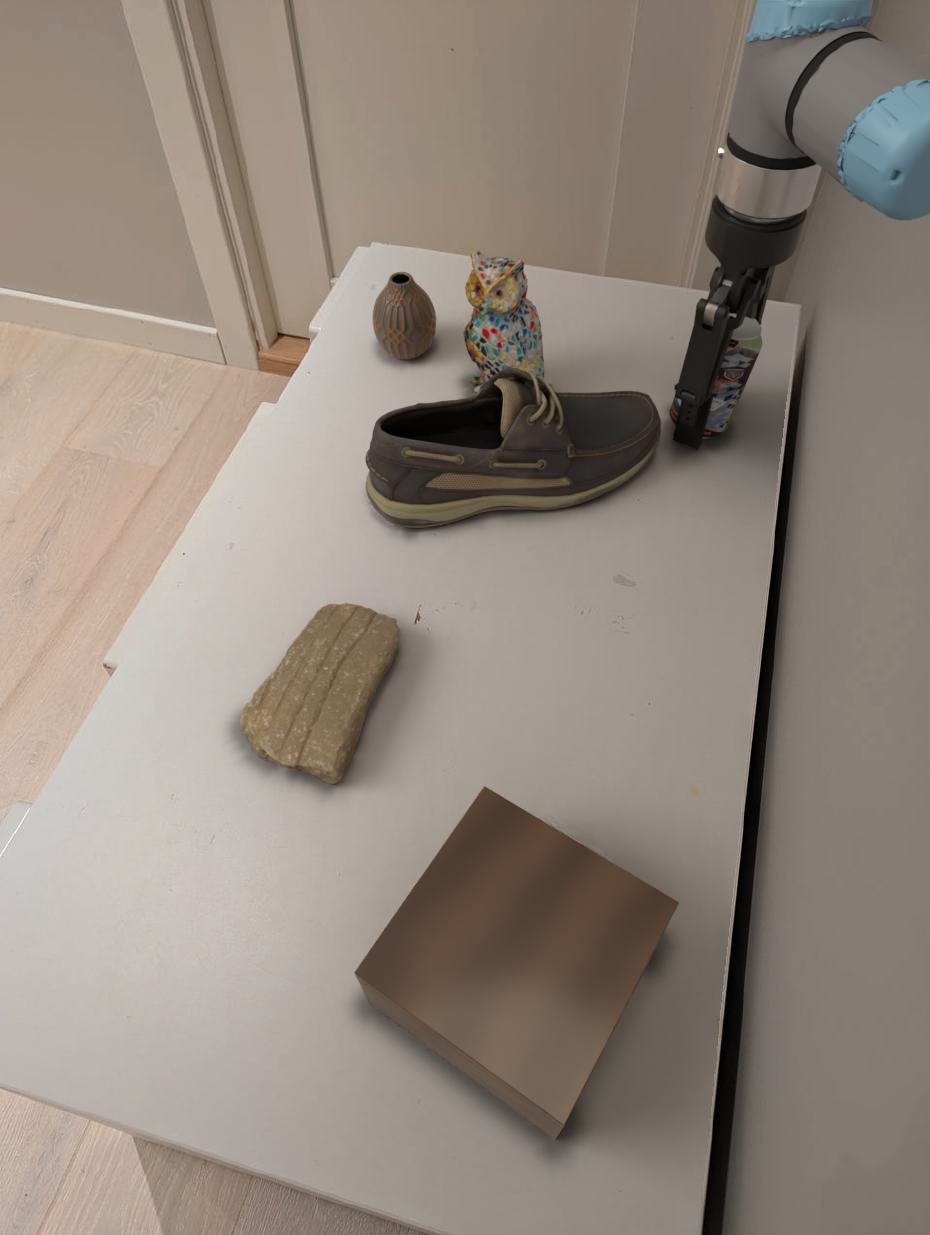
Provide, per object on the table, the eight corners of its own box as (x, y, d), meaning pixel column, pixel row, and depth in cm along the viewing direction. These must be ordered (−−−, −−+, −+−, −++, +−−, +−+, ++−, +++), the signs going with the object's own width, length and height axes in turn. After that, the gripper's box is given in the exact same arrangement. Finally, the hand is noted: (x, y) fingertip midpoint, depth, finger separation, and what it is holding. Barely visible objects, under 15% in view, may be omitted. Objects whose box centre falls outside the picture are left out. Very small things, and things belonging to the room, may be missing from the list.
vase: (386, 326, 99) (378, 255, 92) (444, 334, 98) (441, 263, 91) (368, 363, 95) (358, 292, 88) (428, 372, 94) (423, 301, 87)
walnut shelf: (658, 939, 59) (679, 902, 52) (554, 1140, 52) (564, 1125, 45) (484, 832, 63) (484, 785, 57) (369, 1003, 57) (353, 972, 50)
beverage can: (654, 425, 89) (675, 324, 79) (701, 393, 91) (727, 292, 82) (702, 457, 86) (730, 356, 76) (749, 423, 88) (781, 322, 79)
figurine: (469, 420, 90) (466, 291, 77) (461, 365, 95) (457, 236, 83) (551, 413, 90) (561, 284, 78) (539, 359, 95) (546, 230, 83)
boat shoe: (678, 480, 84) (700, 392, 75) (390, 561, 79) (378, 477, 70) (628, 410, 90) (644, 321, 81) (358, 481, 85) (343, 394, 76)
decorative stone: (412, 633, 74) (409, 609, 71) (341, 794, 65) (334, 774, 62) (307, 605, 76) (300, 580, 73) (224, 758, 67) (213, 737, 64)
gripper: (764, 137, 76) (709, 355, 94) (663, 246, 66) (624, 465, 84) (848, 159, 73) (775, 378, 92) (756, 276, 63) (695, 495, 82)
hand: (703, 419), depth 88 cm, fingers closed on beverage can, 7 cm apart
